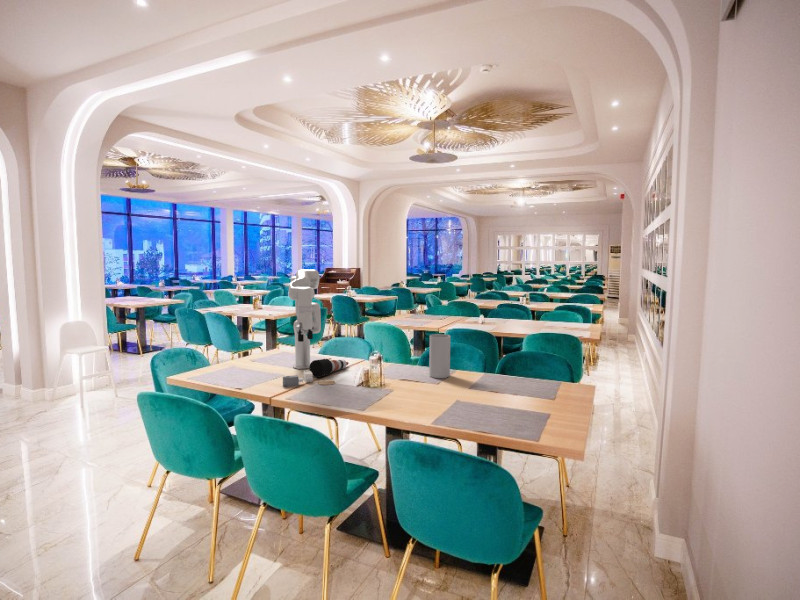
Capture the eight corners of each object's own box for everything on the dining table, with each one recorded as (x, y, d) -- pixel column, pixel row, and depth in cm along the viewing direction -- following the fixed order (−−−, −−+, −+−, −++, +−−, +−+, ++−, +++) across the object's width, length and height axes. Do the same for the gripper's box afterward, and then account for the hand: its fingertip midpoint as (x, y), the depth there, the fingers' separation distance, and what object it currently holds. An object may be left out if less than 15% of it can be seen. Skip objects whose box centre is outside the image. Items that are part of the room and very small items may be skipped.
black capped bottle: (349, 373, 301) (356, 361, 299) (318, 380, 271) (325, 366, 269) (338, 365, 305) (345, 352, 303) (306, 370, 275) (313, 356, 273)
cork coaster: (316, 381, 265) (316, 380, 265) (332, 379, 268) (332, 378, 268) (319, 385, 255) (319, 384, 255) (336, 384, 259) (336, 383, 259)
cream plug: (303, 379, 270) (303, 370, 270) (310, 378, 272) (309, 370, 271) (306, 383, 260) (306, 375, 260) (313, 383, 261) (313, 374, 261)
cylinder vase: (425, 376, 278) (425, 335, 276) (437, 372, 287) (437, 333, 285) (441, 379, 270) (442, 338, 268) (453, 375, 279) (454, 335, 277)
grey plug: (283, 386, 253) (283, 378, 253) (282, 385, 257) (282, 376, 256) (303, 385, 257) (303, 376, 257) (302, 383, 261) (302, 374, 260)
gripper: (307, 308, 263) (307, 337, 265) (290, 310, 247) (291, 342, 248) (318, 308, 261) (319, 338, 262) (302, 311, 245) (303, 342, 246)
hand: (305, 340), depth 255 cm, fingers open, 9 cm apart
